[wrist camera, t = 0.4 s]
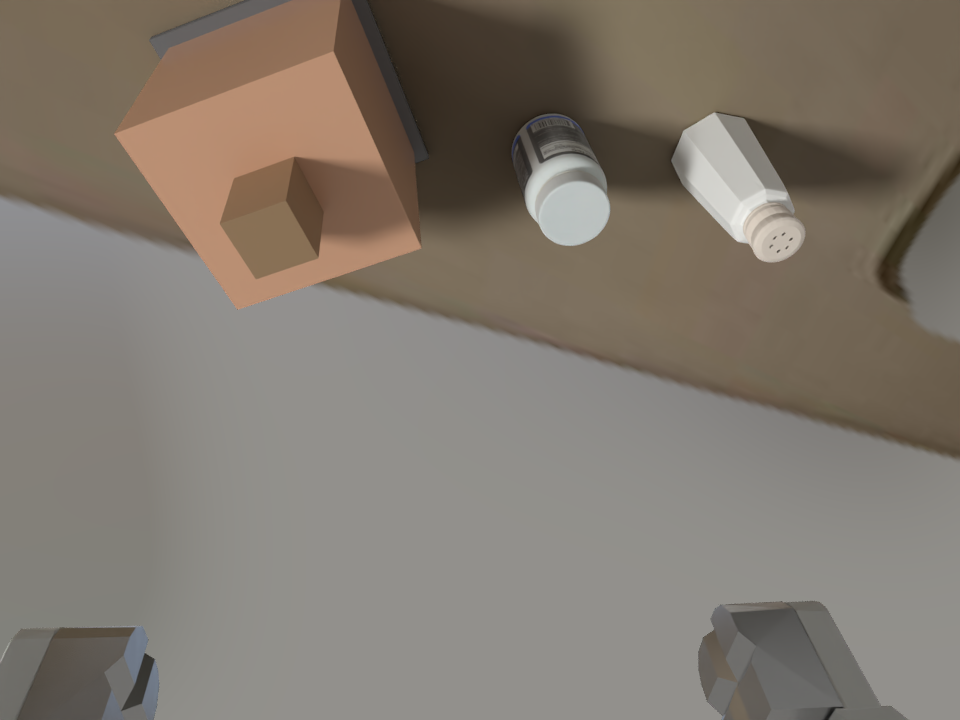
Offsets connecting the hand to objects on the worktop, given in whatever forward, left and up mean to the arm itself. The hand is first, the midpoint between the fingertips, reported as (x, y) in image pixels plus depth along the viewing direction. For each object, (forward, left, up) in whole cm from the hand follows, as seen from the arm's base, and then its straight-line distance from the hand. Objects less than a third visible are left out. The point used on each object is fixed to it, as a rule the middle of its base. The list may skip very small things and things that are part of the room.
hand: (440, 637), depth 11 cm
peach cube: (+5, -8, -37) cm, 38 cm away
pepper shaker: (+17, +15, -38) cm, 44 cm away
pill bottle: (+13, +5, -38) cm, 40 cm away
